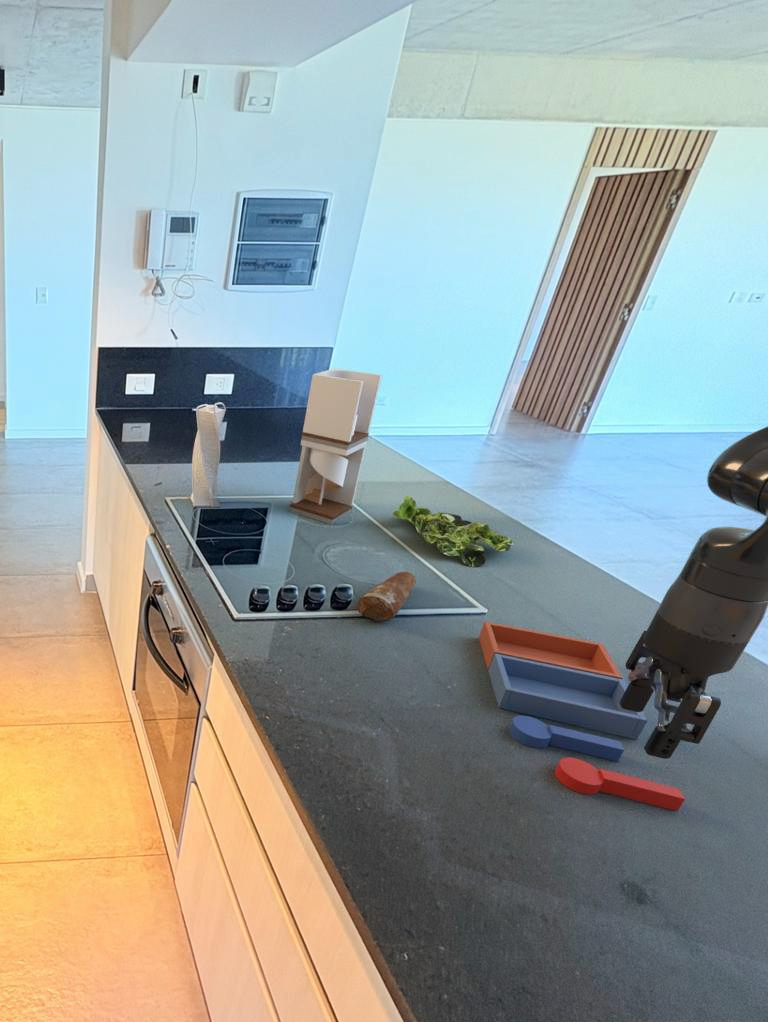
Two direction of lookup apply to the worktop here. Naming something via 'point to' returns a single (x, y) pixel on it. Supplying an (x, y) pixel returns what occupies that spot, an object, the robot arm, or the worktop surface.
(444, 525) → the lettuce
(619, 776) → the red spoon
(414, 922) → the worktop surface
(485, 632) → the red bin
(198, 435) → the skyscraper
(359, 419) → the white tiered shelf stand
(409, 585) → the brown rounded cylinder
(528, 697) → the blue bin
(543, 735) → the blue spoon
